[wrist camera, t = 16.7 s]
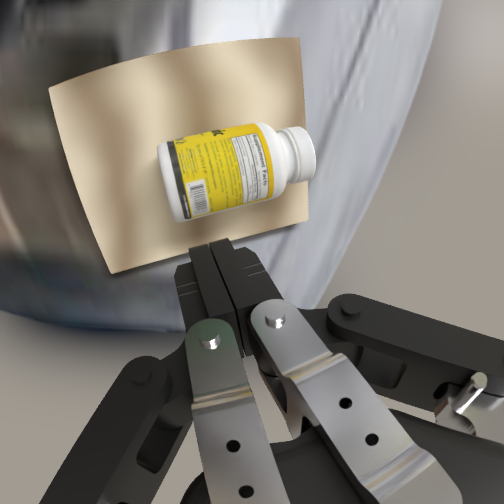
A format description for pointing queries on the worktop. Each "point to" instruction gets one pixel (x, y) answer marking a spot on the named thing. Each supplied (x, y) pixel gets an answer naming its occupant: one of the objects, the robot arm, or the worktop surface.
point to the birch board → (169, 128)
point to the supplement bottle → (232, 168)
